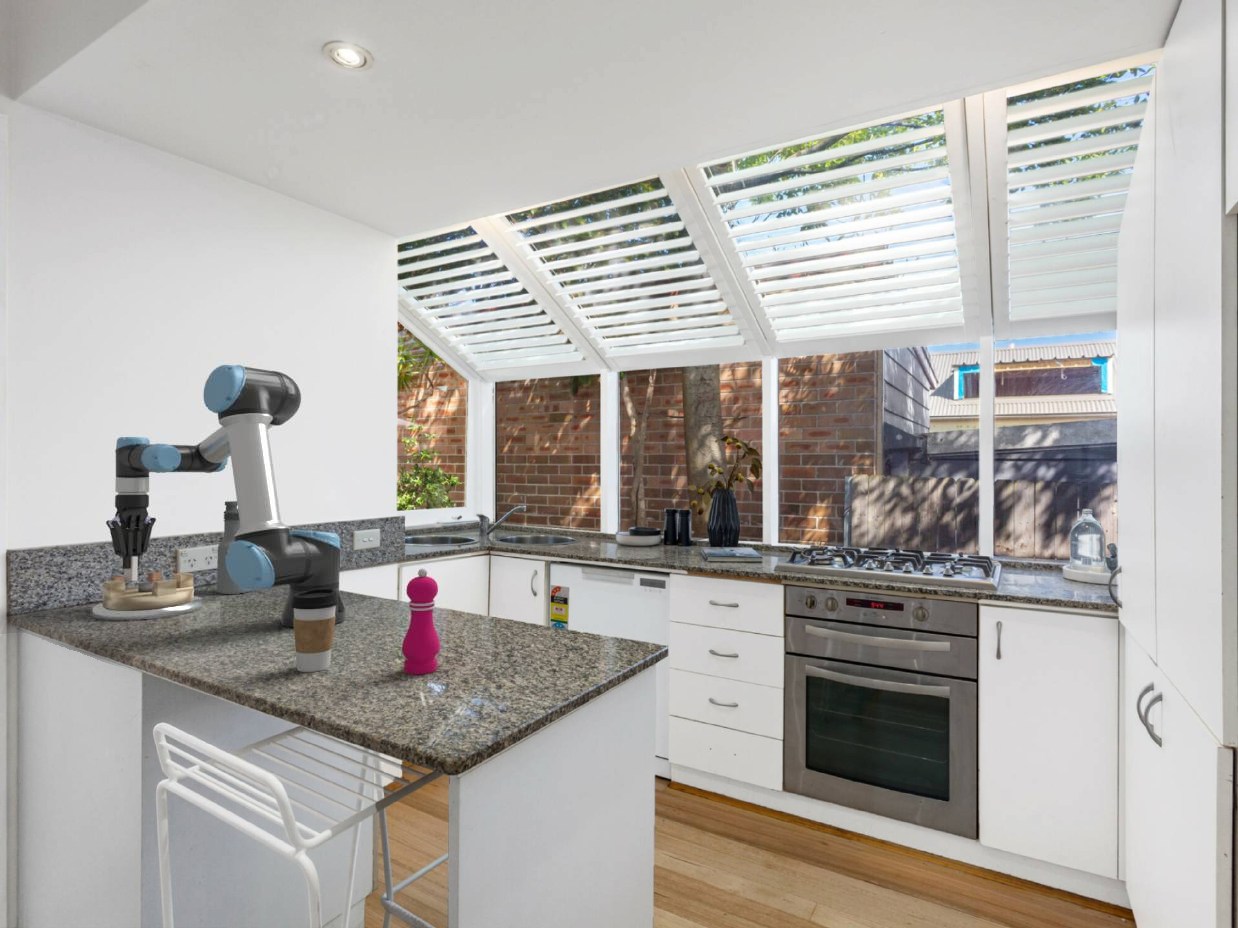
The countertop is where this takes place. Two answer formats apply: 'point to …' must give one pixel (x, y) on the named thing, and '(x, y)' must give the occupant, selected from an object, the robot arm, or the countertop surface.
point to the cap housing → (146, 611)
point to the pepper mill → (421, 626)
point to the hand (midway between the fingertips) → (130, 580)
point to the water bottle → (230, 529)
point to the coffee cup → (314, 628)
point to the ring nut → (148, 592)
